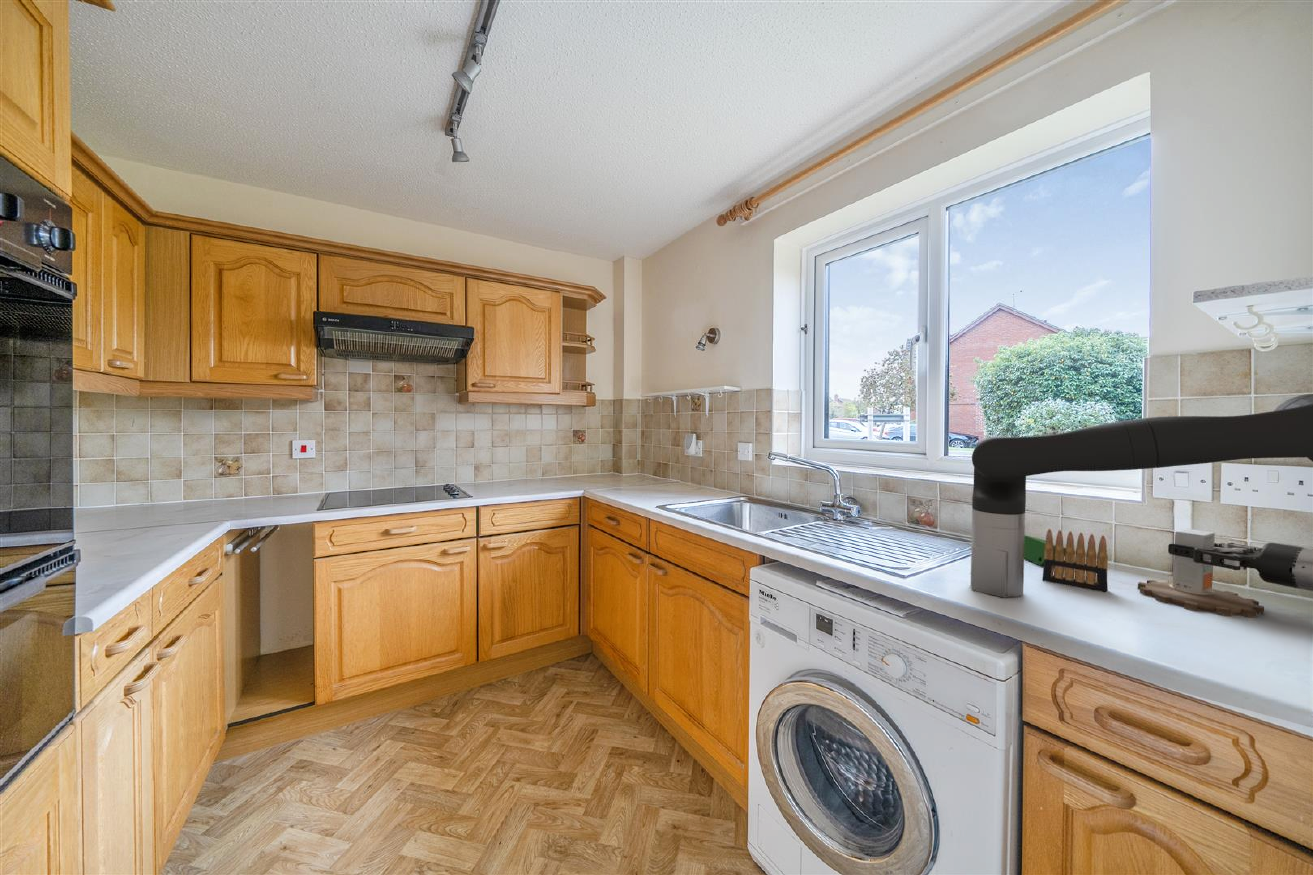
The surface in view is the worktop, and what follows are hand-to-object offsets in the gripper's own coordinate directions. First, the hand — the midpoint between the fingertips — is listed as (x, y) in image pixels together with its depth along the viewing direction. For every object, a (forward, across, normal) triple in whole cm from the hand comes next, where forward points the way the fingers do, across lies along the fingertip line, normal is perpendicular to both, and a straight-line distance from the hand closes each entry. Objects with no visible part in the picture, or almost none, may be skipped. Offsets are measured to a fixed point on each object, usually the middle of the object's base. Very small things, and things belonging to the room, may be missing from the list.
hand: (1180, 546), depth 99 cm
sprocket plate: (-4, +3, +10) cm, 11 cm away
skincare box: (-2, 0, +9) cm, 9 cm away
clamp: (+24, +3, +10) cm, 26 cm away
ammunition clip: (+10, +16, +10) cm, 21 cm away
